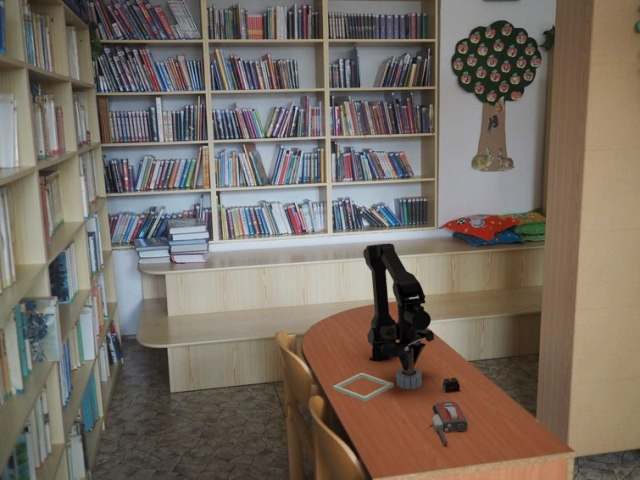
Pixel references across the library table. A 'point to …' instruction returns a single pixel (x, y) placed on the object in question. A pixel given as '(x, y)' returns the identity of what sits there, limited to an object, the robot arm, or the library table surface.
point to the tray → (358, 396)
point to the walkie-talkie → (448, 418)
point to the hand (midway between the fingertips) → (408, 368)
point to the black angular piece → (451, 384)
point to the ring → (409, 379)
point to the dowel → (410, 364)
